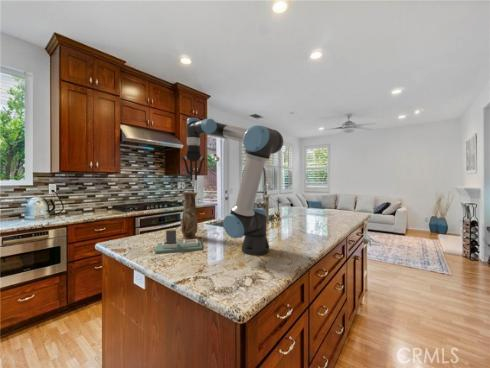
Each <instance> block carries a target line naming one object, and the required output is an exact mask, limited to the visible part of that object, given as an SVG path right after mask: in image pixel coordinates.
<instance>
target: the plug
mask: <svg viewBox="0 0 490 368" xmlns="http://www.w3.org/2000/svg"><path fill="white" fill-rule="evenodd" d="M165 236H166V237H165V241H166V244H176V241H177V228H171V229H168V228H167V229H166V231H165Z"/></svg>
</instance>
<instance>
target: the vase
mask: <svg viewBox="0 0 490 368" xmlns="http://www.w3.org/2000/svg"><path fill="white" fill-rule="evenodd" d="M198 193H199V192H198V191H197V192H196V191H182V195H183V197H184V206H183V210H182V211H183V212H182V216H181V217H182V218H181V226H180V230H181V233H182V235H183V236H182V240H193V239H197V236H196V234H197V232H198V219H197V218H198V217H197V204H196V198H197V197H196V196H197V195H198Z"/></svg>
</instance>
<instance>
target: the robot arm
mask: <svg viewBox="0 0 490 368" xmlns="http://www.w3.org/2000/svg"><path fill="white" fill-rule="evenodd" d="M201 135H210V136H216V137H220V138H223V139H224V138H225V139H229V140H232V141H237V142H241V143H243V147H244V148H245V151H244V154H245V156H246V161H245V165H244V169H243V173H242V178H241V181H240V186H239V190H238V194H237V197H236V201H235V205H233V206H232V207H231V209H230V212H229V213H230V214H227V215H225V216H224V218H223V223H222V224H223V229H224V230H225V234H227V236H229V237H230V238H233V239H239V238H243V241H242V243H241V252H243V254H246V255H252V256H261V255H266V254H269V252H270V244H269V241H268V237H267V220H268V219H267V210H266V209H264V208H257V207H254V205H255V202H256V198H257V193H258V190H259V186H260V183H261V178H262V175H263V171H264V169H265V163H266V162H267V161H268V160H270V158H271V155H274V154H277V153H278V152H279V151H281V149H282V148H283V145H284V138H283V135H282V134H281V133H280V132H279V131H278V130H276V129H273V128H270V127H268V126H264V125H252V126H250V127H249V128H244V127H238V126H234V125H230V124H224V123H220V122H216V121H215V120H214V119H213V118H205V119H202V120H201V119H199V118H197V117H188V118H187V119H186V145H187V146H186V154H185V156H183V157H181V158H182V161H183V163H184V166H185V167H184V168H185V169H186V174H188V175H189V178H190V179H189V180H190V181H191V183H192V184H191V185H192V187H196V181H197V180H198V175H199V174H201V170H202V168H203V162H204V161H205V159H206V158H205V157H203V156H202V154H201V146H200V145H201ZM187 159H188V161H189V165H188V163H187V162H188V161H187ZM199 160H200V162H199V166H198V161H199ZM193 162H194V174H193Z"/></svg>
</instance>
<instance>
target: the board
mask: <svg viewBox="0 0 490 368" xmlns="http://www.w3.org/2000/svg"><path fill="white" fill-rule="evenodd" d="M202 250H203V246H202V242H201V240H198V238H194V239H183V241H178V239H176V244H166V240H163V242H160V243H157V245H156V249H155V252H154V253H155V254H165V253H166V254H167V253H176V252H177V253H179V252H181V253H182V252H190V251H193V252H194V251H202Z"/></svg>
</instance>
